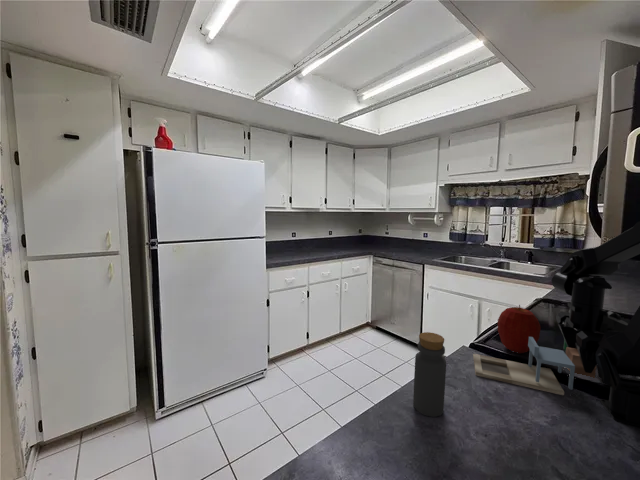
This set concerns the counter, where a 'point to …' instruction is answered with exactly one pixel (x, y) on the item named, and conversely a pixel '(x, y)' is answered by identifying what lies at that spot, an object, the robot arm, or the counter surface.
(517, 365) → the board
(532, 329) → the apple
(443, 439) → the counter surface
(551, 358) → the light blue toy chair
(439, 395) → the bottle
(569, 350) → the block
